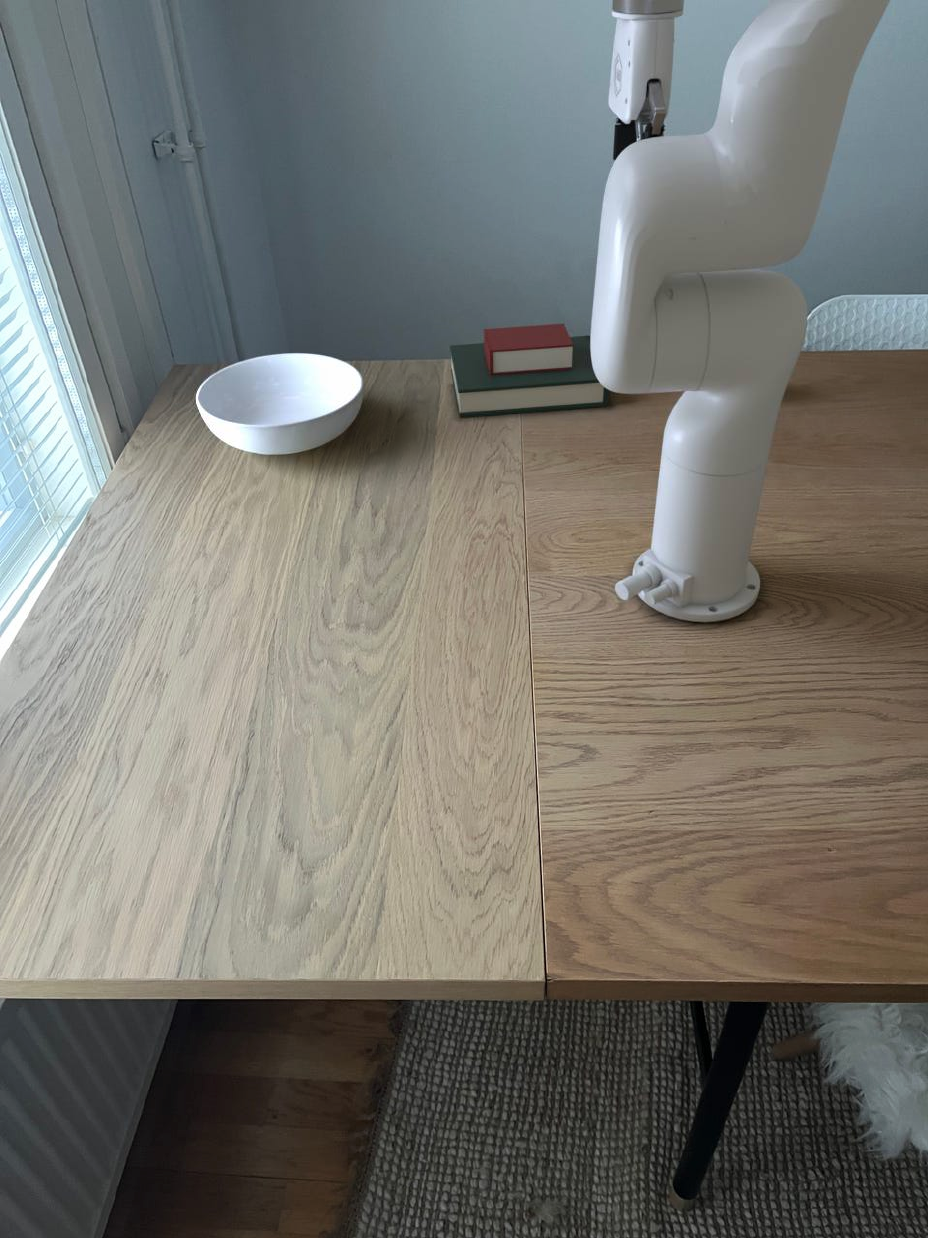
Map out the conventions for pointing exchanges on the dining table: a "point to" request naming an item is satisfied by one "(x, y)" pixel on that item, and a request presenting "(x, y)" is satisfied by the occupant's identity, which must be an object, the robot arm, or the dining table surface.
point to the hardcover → (524, 384)
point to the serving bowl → (281, 402)
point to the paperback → (528, 349)
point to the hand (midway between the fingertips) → (635, 171)
